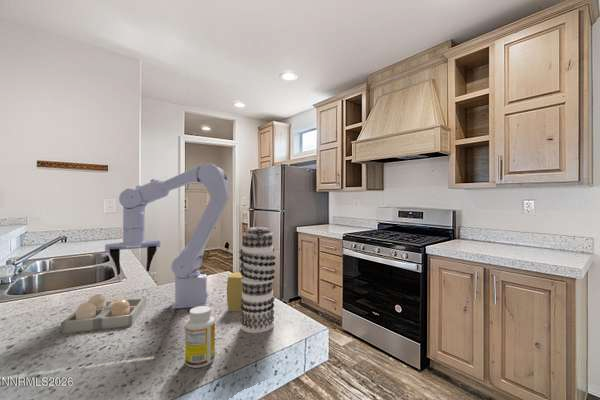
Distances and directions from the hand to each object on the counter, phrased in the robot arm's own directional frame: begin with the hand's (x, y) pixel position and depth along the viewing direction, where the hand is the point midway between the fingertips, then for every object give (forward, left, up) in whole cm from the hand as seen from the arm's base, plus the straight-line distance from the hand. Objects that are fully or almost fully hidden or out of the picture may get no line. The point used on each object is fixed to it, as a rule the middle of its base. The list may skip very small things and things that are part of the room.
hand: (133, 272), depth 85 cm
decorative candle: (-35, +25, -10) cm, 44 cm away
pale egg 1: (+7, +14, -9) cm, 18 cm away
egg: (-1, +14, -9) cm, 17 cm away
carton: (+3, +11, -10) cm, 15 cm away
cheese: (-34, +10, -10) cm, 37 cm away
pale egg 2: (+7, +8, -9) cm, 14 cm away
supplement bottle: (-22, +38, -10) cm, 45 cm away
